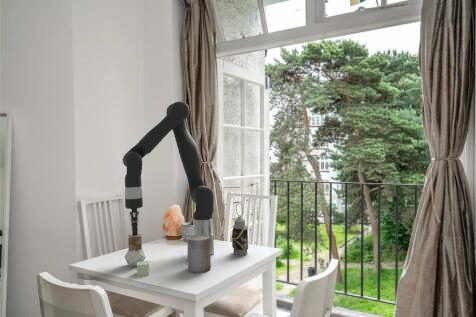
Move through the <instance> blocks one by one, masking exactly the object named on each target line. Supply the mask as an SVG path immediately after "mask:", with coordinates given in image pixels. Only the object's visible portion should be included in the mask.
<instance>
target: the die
mask: <svg viewBox="0 0 476 317" xmlns="http://www.w3.org/2000/svg"><path fill="white" fill-rule="evenodd" d="M123 257H124V259H125V261H126V264H127V266H128V267H131V268H133V267H137V262H144V261H145V259H146V254H145V252H144V249H143V248H142V249H139V250H129V249H128V250H127V251H126V253H125V255H124V256H123Z"/></svg>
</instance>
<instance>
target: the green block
mask: <svg viewBox="0 0 476 317" xmlns="http://www.w3.org/2000/svg"><path fill="white" fill-rule="evenodd" d="M149 268H150V267H149V261H148V260H144V261H143V262H137V266H136V276H137V277H141V276H142V277H143V276H149V275H150V273H149V272H150V271H149V270H150V269H149Z"/></svg>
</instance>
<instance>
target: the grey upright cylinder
mask: <svg viewBox="0 0 476 317" xmlns="http://www.w3.org/2000/svg"><path fill="white" fill-rule="evenodd" d="M186 239H187V240H186V241H187V271H189V273H200V274H201V273H205V272H209V271H210V270H211V268H212V264H211V262H212V261H211V259H212V258H211V255H212V254H211V253H210V236H208V235H194V234H192V235H189V236H188V237H186Z"/></svg>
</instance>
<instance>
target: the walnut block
mask: <svg viewBox="0 0 476 317" xmlns="http://www.w3.org/2000/svg"><path fill="white" fill-rule="evenodd" d="M127 239H128V242H127V243H128V250H139V249H143V247H142V246H143V244H142V242H143V241H142V240H143V239H142V234H141V233H138V235H137V236H133V235H132V234H128V238H127Z"/></svg>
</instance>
